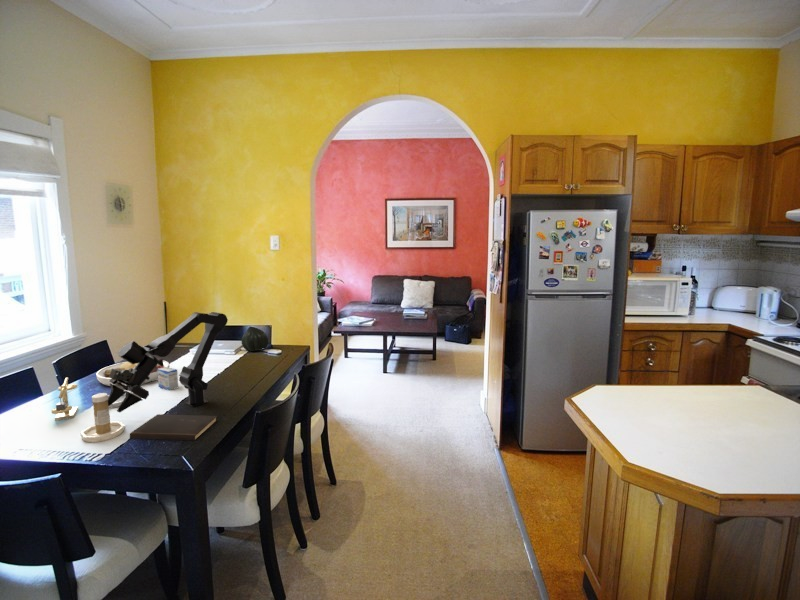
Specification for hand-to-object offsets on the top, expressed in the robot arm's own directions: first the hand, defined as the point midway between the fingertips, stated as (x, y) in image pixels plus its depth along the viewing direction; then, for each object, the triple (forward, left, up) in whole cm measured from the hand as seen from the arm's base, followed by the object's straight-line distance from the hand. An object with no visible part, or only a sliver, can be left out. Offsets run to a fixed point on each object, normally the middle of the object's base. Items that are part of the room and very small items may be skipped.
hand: (112, 408), depth 153 cm
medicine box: (+31, -30, -8) cm, 44 cm away
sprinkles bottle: (0, +3, -7) cm, 8 cm away
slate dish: (+29, -8, -8) cm, 31 cm away
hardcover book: (-15, -15, -9) cm, 23 cm away
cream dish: (0, +4, -8) cm, 9 cm away
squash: (+58, -90, -8) cm, 108 cm away
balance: (+29, +8, -8) cm, 31 cm away
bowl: (+57, -25, -9) cm, 63 cm away
